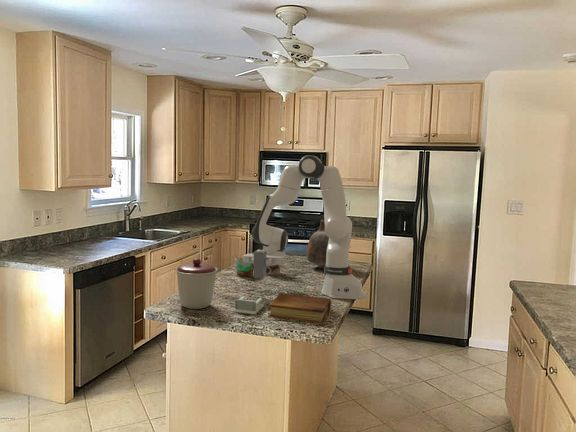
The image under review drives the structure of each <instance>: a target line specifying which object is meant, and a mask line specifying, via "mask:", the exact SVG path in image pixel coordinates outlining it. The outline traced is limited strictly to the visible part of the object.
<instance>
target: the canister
mask: <svg viewBox="0 0 576 432" xmlns="http://www.w3.org/2000/svg"><path fill="white" fill-rule="evenodd" d="M217 271H219V269H218V268H217V267H216V266H214V265H212V264H210V263H204V262H202V260H201V259H200V258H194V259H193V260H192V263H191V262H189V263H184V264H181V265H179V266H177V267H176V268H175V272H176V276H177V277H176V279H177V288H178V296H179V303H180V304H181V306H182V307H183V308H187V309H189V310H190V309H191V310H201V309H205V308H208V307H209V306H210V305H211V303H212V301H213V297H214V291H215V284H216V275H217Z"/></svg>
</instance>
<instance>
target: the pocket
mask: <svg viewBox="0 0 576 432" xmlns="http://www.w3.org/2000/svg"><path fill="white" fill-rule="evenodd" d="M262 308H264V304H263V298H262V297H259V298H258V299H257V300H252V299H251V300H250V299H246V296H245V295H243V296H241V297H240V298H235V299H234V308H233V311H232V312H235V313H243V314H250V315H251V314H252V315H257V314H258V313H259V312H260V311H261V310H262Z"/></svg>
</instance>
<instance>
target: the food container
mask: <svg viewBox="0 0 576 432" xmlns="http://www.w3.org/2000/svg"><path fill="white" fill-rule="evenodd" d="M234 262H235V264H236V265H235V266H236V276H238V277H241V276H242V278H245V277H247V278H248V277H254V264H252V263H244V262H243V257H242V258H240V257H238V256H236V257H235V259H234Z"/></svg>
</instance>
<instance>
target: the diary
mask: <svg viewBox="0 0 576 432" xmlns="http://www.w3.org/2000/svg"><path fill="white" fill-rule="evenodd" d="M331 303H332V298H324V297H318V296H306V295H298V294H289V293H281V292H280V293H279V295H277V296H276V297H275V298H274V299H273V300H272V301H271V302H270V303H269V304H268V307H270V313H269V314H268V317H272V318H279V319H280V318H281V319H289V320H295V321H296V320H297V321H305V322H312V323H319V324H323V323H324V322H325V320H326V318H327V316H328V315H329V313H330V312H331V308H332V307H331V306H332V305H331Z"/></svg>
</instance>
